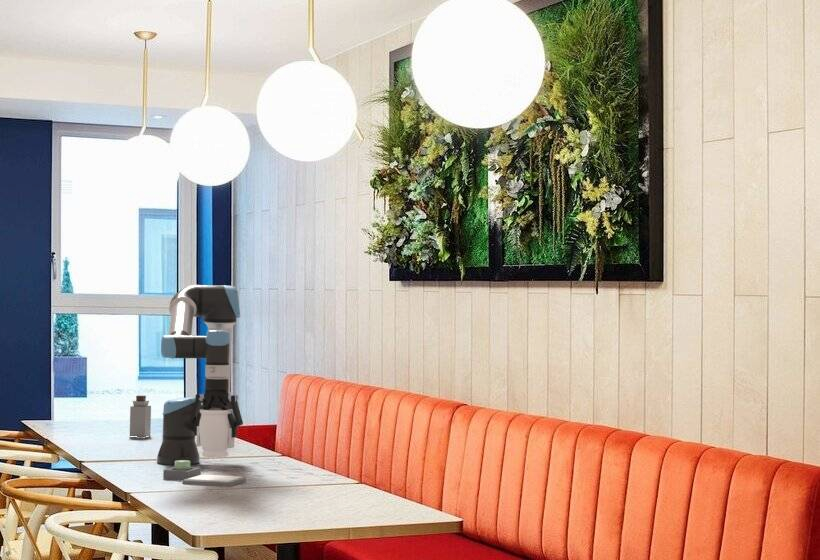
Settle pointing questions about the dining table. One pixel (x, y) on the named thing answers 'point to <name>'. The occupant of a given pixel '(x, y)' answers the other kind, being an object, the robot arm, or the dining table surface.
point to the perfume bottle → (140, 417)
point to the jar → (214, 432)
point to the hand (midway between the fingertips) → (215, 446)
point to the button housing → (180, 473)
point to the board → (214, 480)
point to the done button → (182, 465)
